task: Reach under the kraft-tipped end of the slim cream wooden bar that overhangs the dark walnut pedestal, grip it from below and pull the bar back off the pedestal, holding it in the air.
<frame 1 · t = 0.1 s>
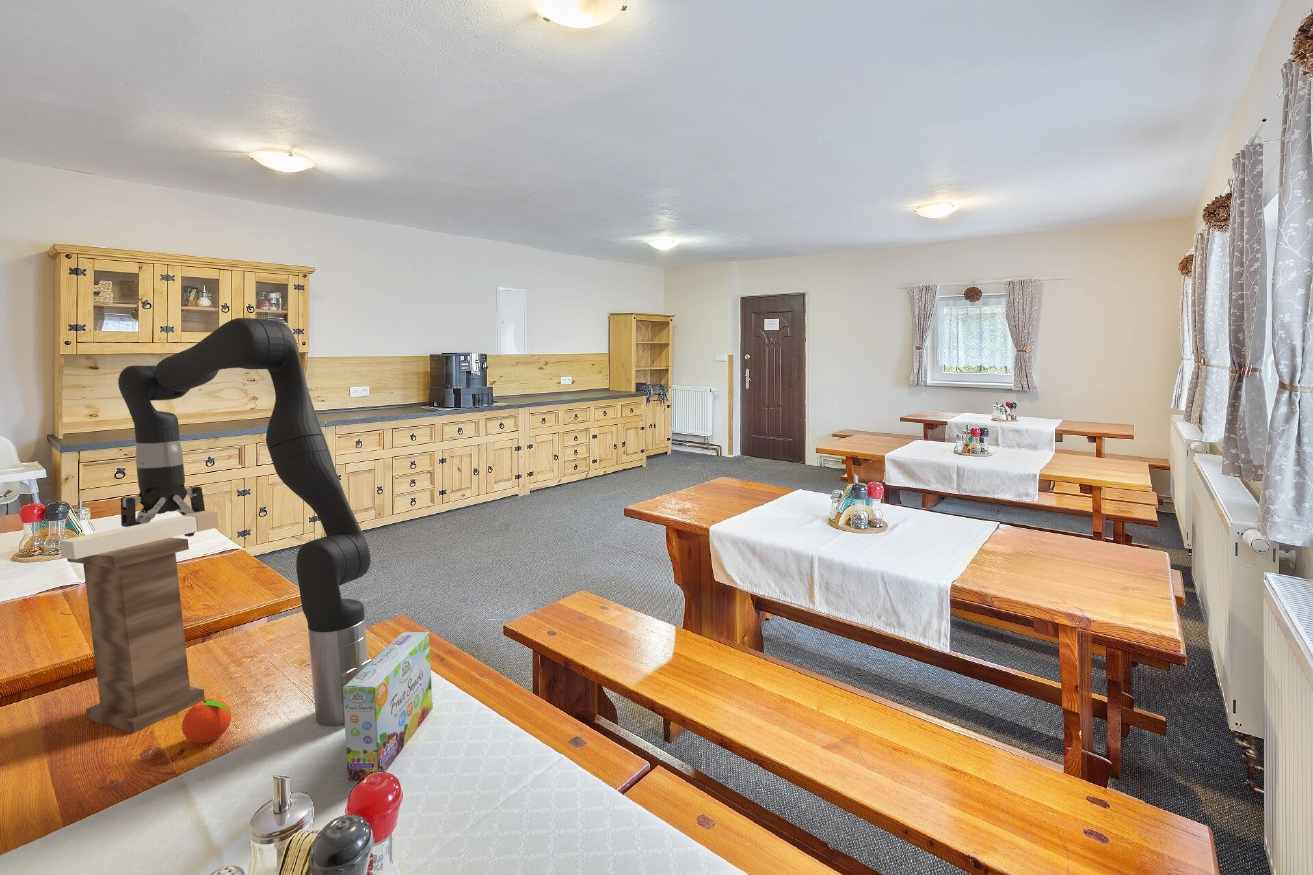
hand: (167, 540, 128), 29 cm above the table, tool pointing down, fingers open, 8 cm apart
cream wooden bar: (146, 540, 117), point 32 cm above the table, touching walnut pedestal
clementine: (212, 741, 106), on the table
snack box: (395, 742, 104), on the table
walnut pedestal: (147, 708, 117), on the table
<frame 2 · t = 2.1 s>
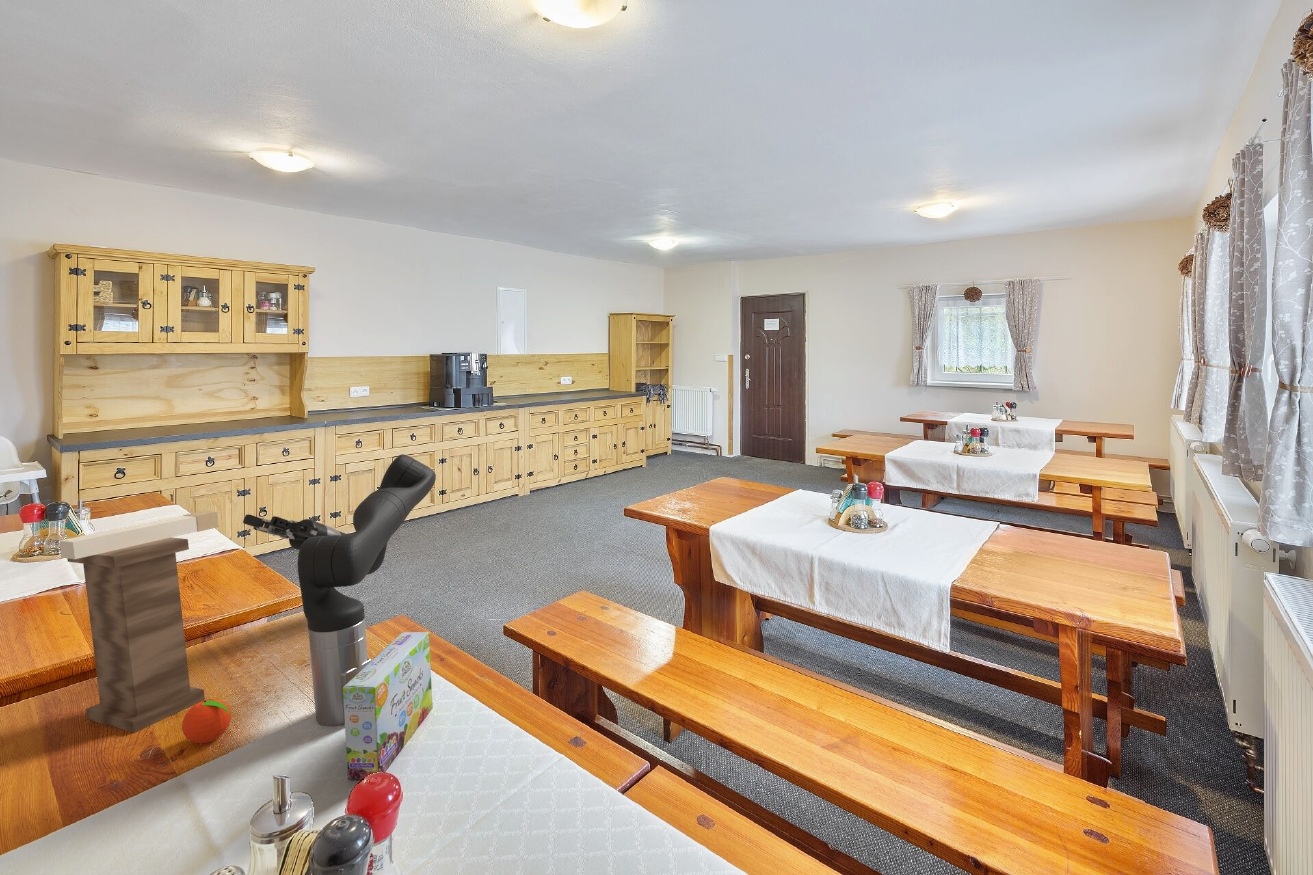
hand: (258, 519, 138), 31 cm above the table, tool pointing upward, fingers open, 8 cm apart
nothing on the table moved.
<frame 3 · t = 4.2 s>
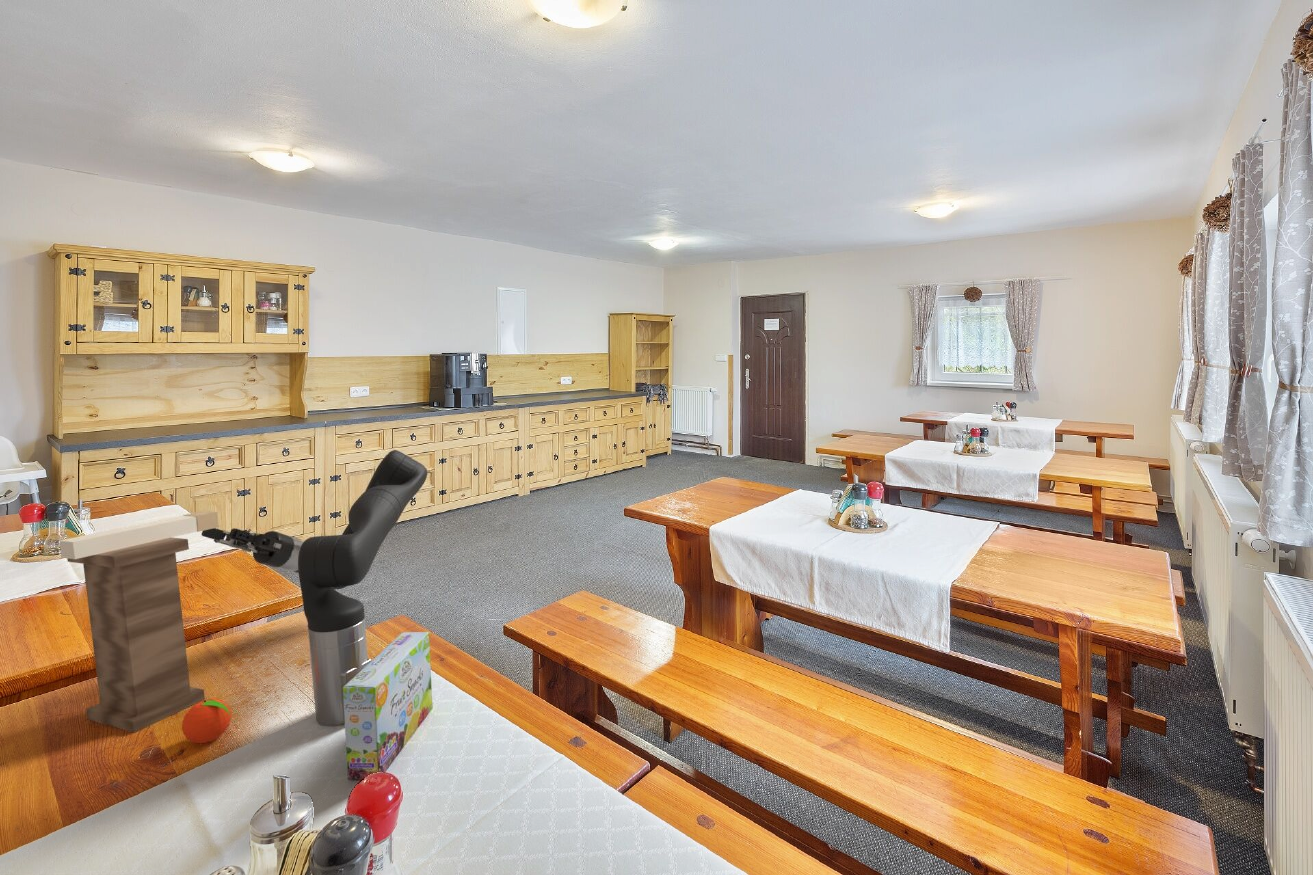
hand: (217, 531, 129), 31 cm above the table, tool pointing upward, fingers open, 8 cm apart
nothing on the table moved.
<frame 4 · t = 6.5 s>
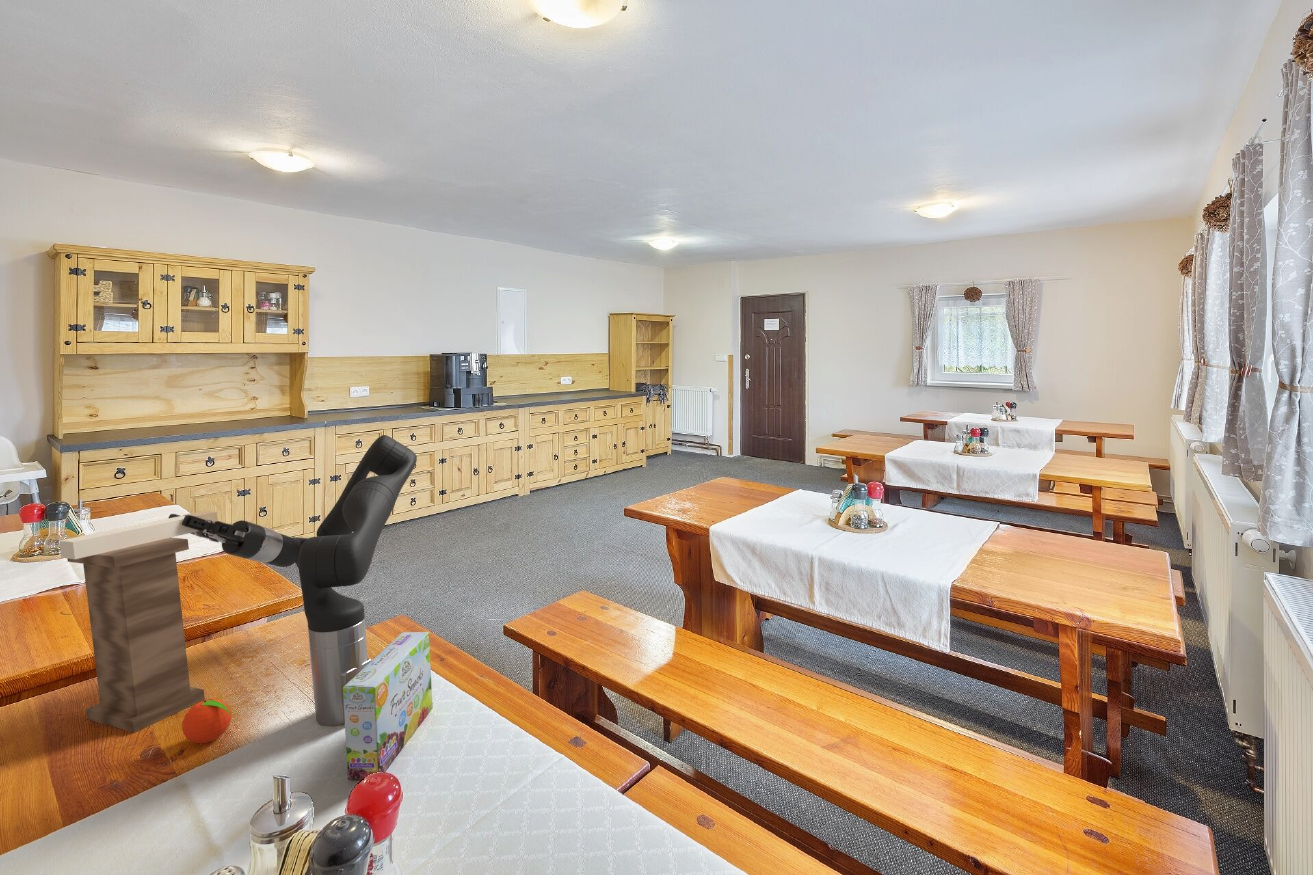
hand: (177, 519, 122), 35 cm above the table, tool pointing upward, fingers closed on cream wooden bar, 4 cm apart
cream wooden bar: (146, 540, 117), point 32 cm above the table, touching gripper, walnut pedestal
everything else where it was.
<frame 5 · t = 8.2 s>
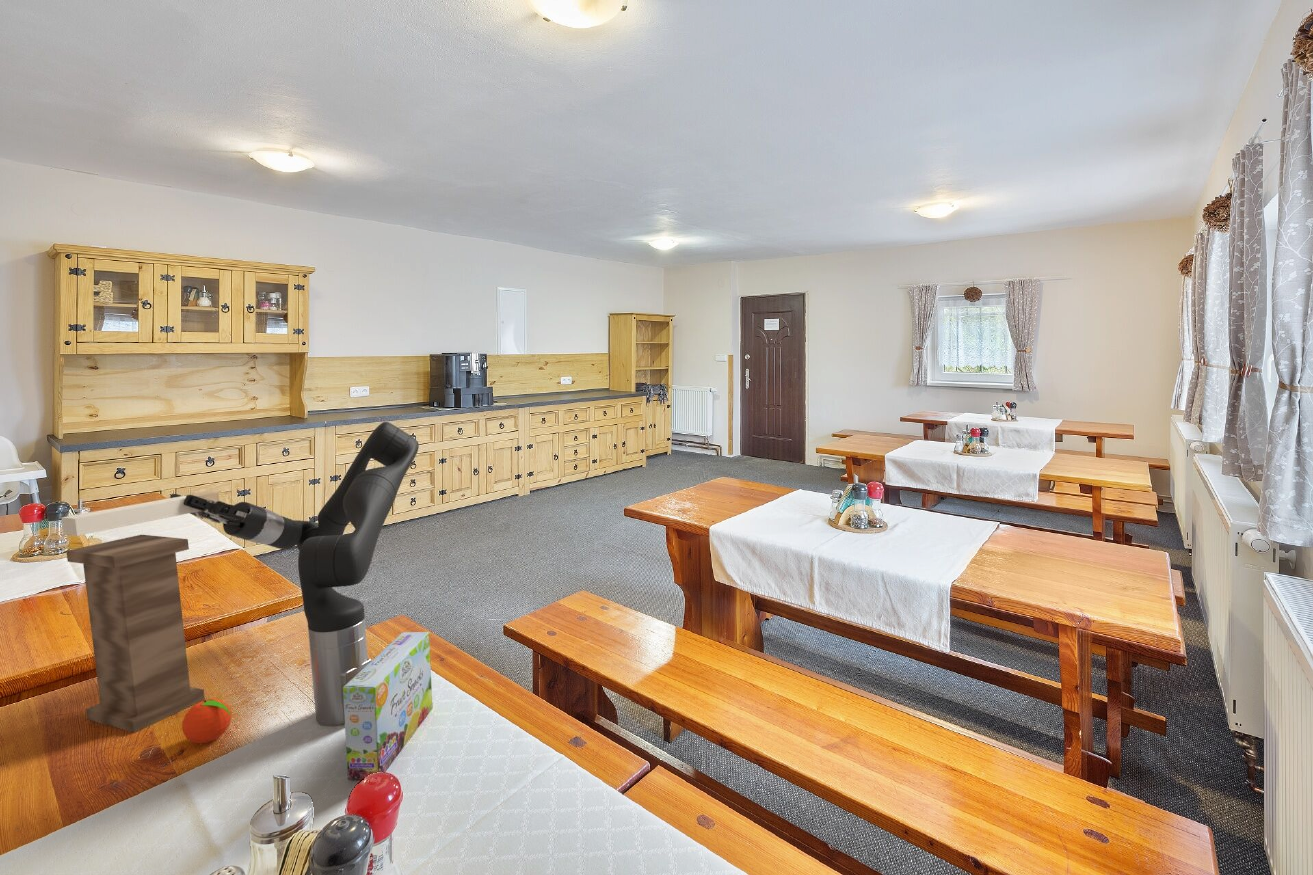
hand: (179, 499, 122), 39 cm above the table, tool pointing upward, fingers closed on cream wooden bar, 4 cm apart
cream wooden bar: (148, 519, 117), point 36 cm above the table, touching gripper
everything else where it was.
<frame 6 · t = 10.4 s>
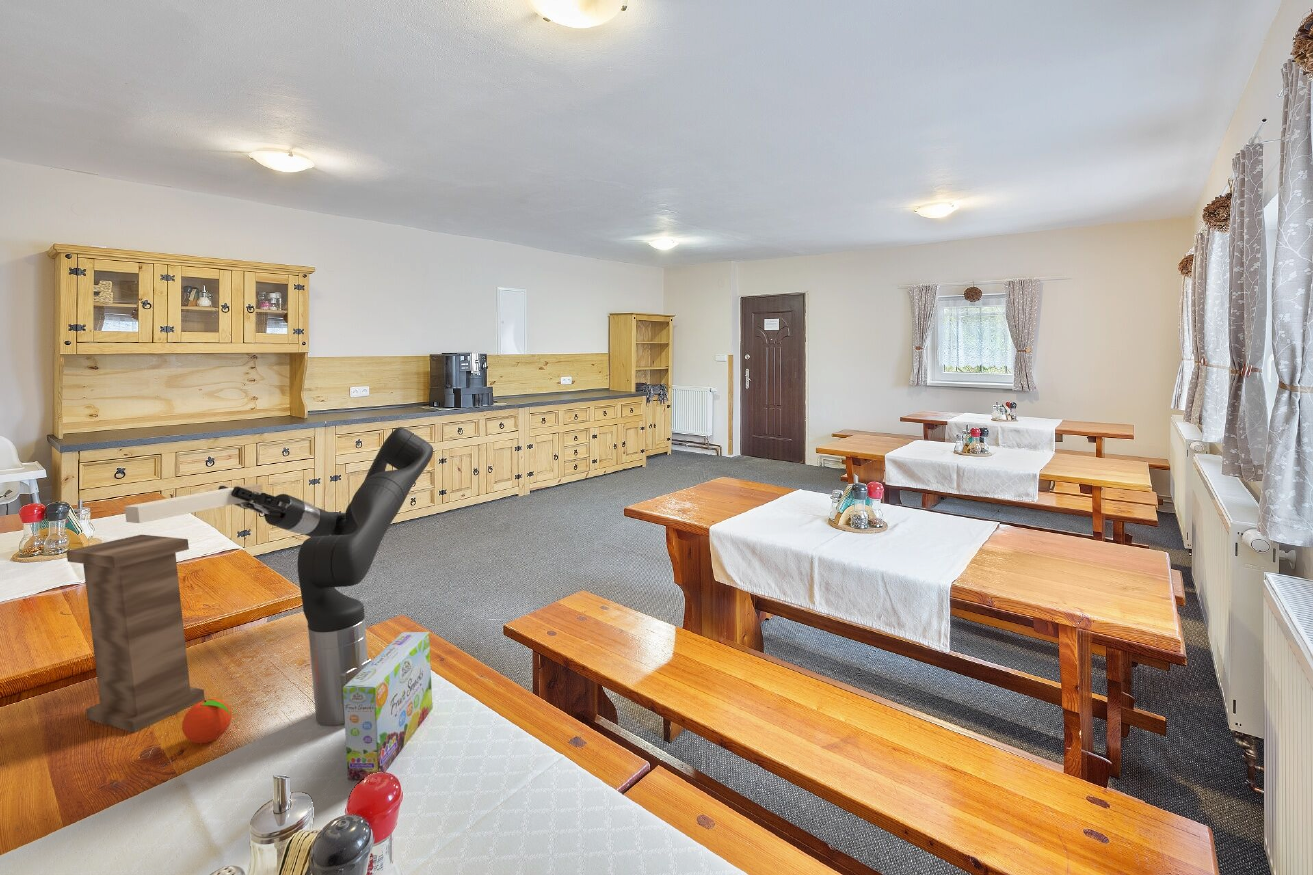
hand: (226, 490, 131), 39 cm above the table, tool pointing upward, fingers closed on cream wooden bar, 4 cm apart
cream wooden bar: (200, 509, 126), point 36 cm above the table, touching gripper
everything else where it was.
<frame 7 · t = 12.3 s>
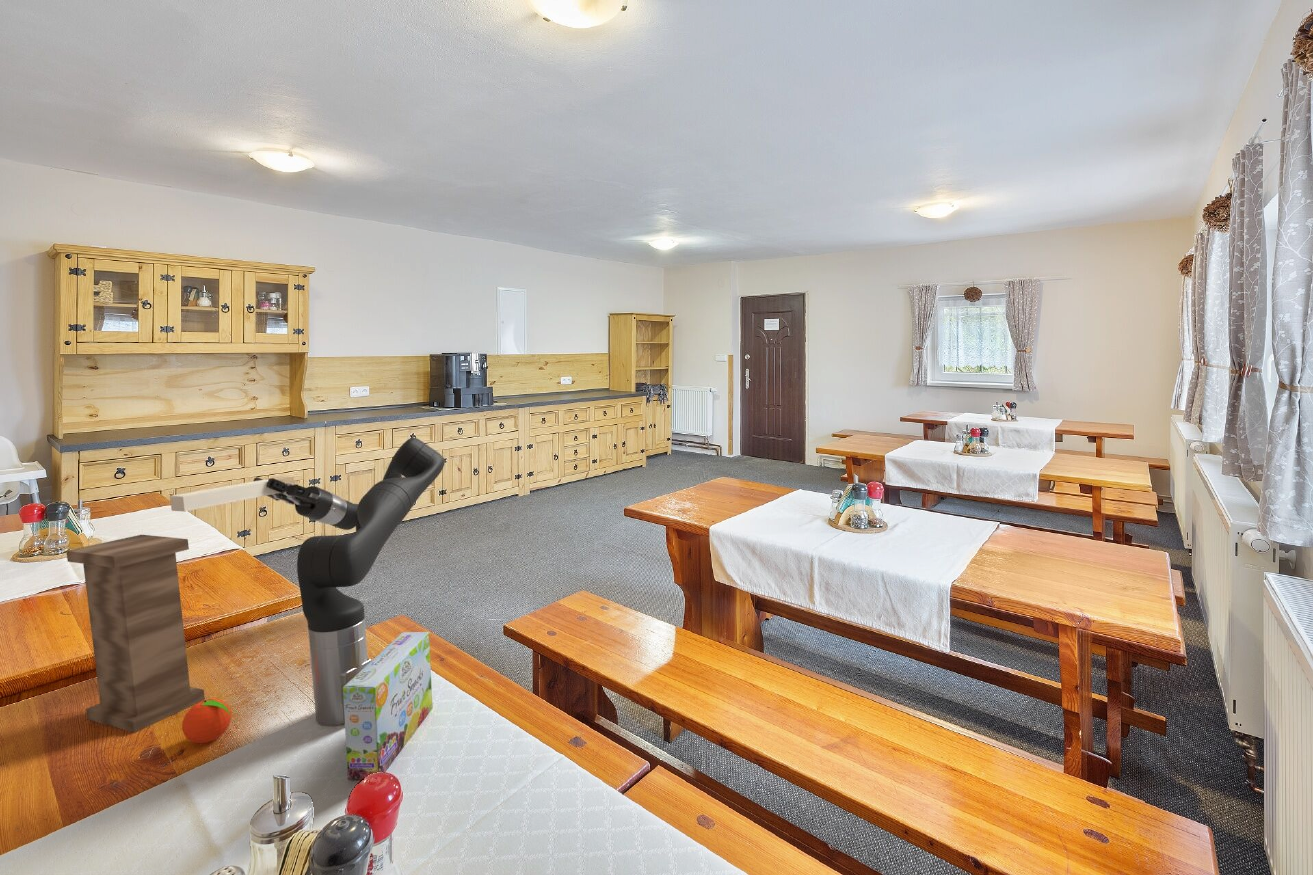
hand: (261, 482, 138), 39 cm above the table, tool pointing upward, fingers closed on cream wooden bar, 4 cm apart
cream wooden bar: (238, 499, 133), point 36 cm above the table, touching gripper
everything else where it was.
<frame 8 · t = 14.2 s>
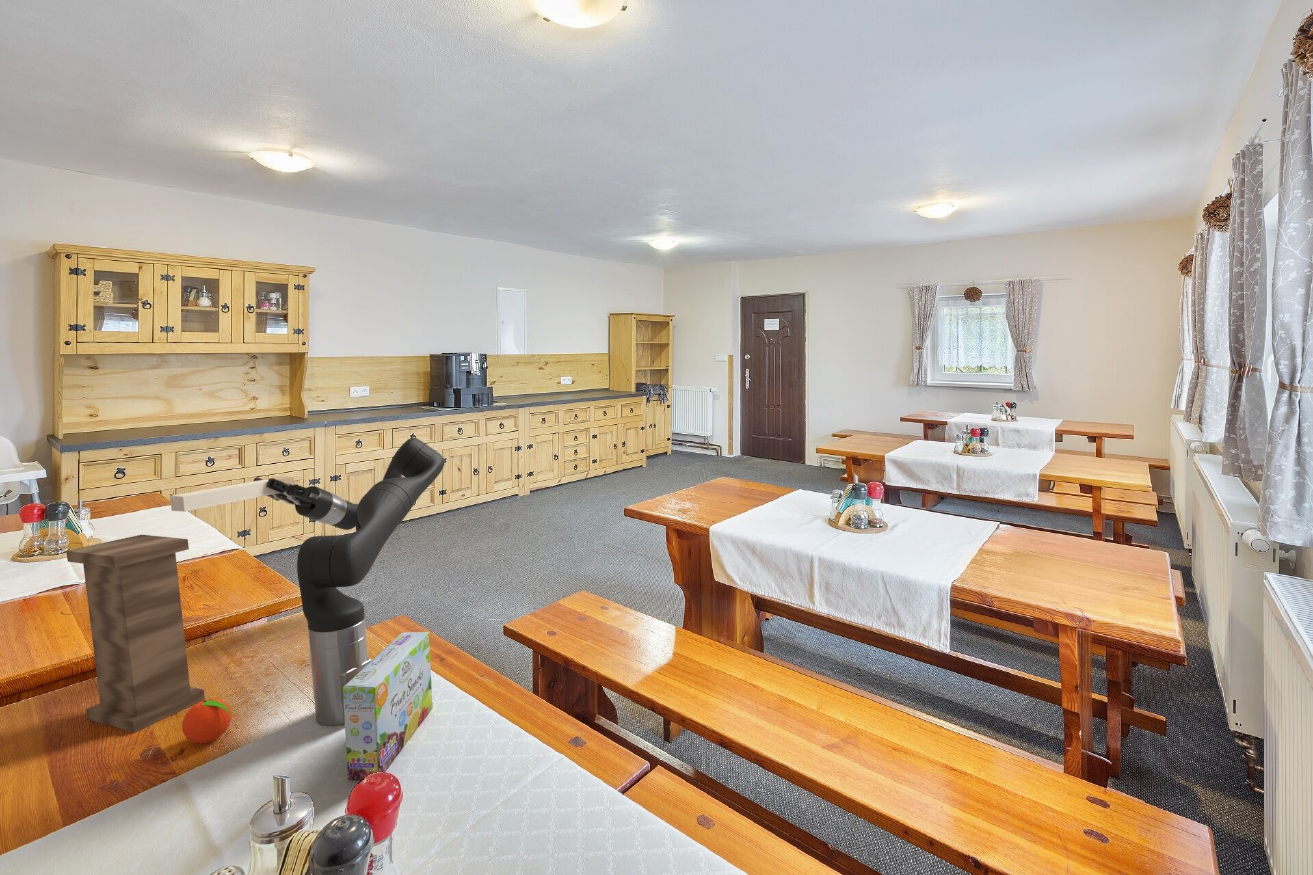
hand: (261, 482, 138), 39 cm above the table, tool pointing upward, fingers closed on cream wooden bar, 4 cm apart
cream wooden bar: (238, 499, 133), point 36 cm above the table, touching gripper
everything else where it was.
at the end: the gripper is holding cream wooden bar; cream wooden bar inside the target area (6.0 cm from its centre), point 36.5 cm above the table; cream wooden bar touching gripper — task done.
